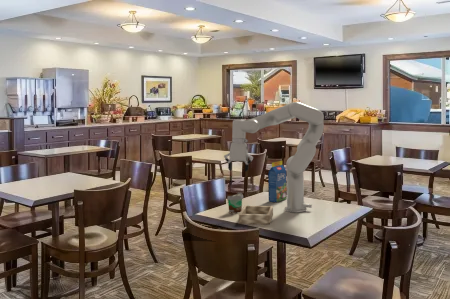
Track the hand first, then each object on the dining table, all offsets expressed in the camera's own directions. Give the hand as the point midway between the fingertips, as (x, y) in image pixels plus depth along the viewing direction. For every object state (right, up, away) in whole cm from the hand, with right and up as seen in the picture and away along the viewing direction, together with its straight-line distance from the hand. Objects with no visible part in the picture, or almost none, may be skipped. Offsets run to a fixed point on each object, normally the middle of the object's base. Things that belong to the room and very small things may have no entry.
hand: (238, 170), depth 251 cm
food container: (0, -24, +2) cm, 24 cm away
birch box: (+10, -25, -16) cm, 32 cm away
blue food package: (+26, -21, +28) cm, 43 cm away
